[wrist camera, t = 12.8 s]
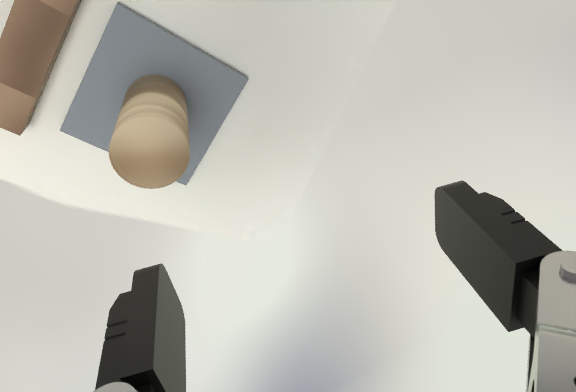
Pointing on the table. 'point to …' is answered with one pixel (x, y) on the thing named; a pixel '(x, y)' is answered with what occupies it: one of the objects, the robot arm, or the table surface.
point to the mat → (148, 61)
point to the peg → (151, 133)
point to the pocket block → (30, 56)
